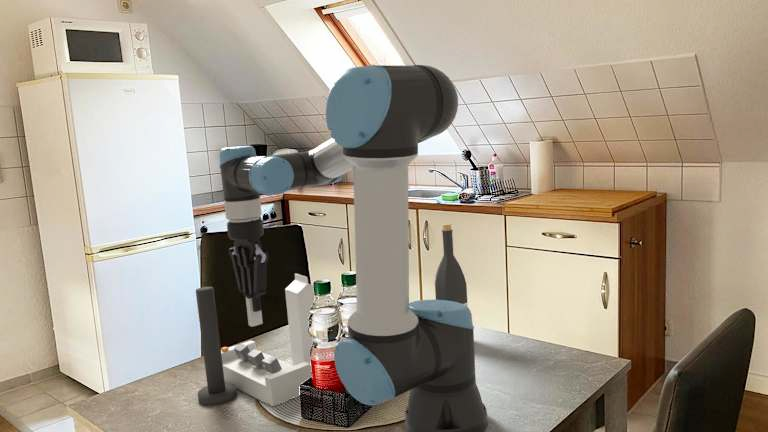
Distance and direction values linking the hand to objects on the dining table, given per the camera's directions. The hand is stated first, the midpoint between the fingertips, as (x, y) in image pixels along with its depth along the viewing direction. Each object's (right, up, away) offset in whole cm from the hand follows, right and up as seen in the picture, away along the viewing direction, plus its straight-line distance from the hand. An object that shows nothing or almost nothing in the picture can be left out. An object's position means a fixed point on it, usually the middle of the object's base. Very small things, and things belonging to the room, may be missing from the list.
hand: (255, 324), depth 141 cm
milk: (+11, -12, +11) cm, 19 cm away
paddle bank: (+1, -9, +1) cm, 10 cm away
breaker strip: (+1, -14, +2) cm, 14 cm away
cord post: (-8, -15, -3) cm, 17 cm away
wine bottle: (+46, -8, +18) cm, 50 cm away
